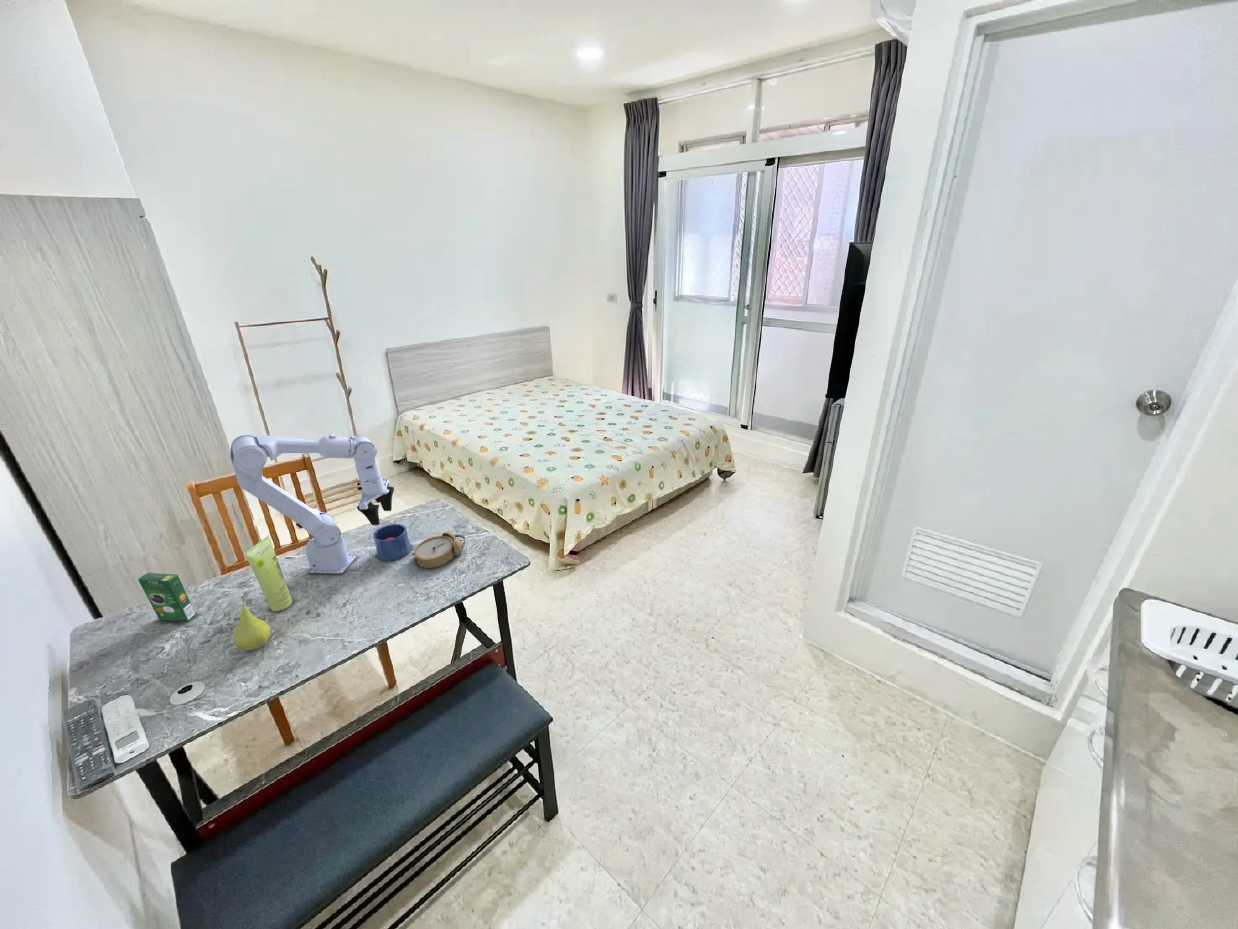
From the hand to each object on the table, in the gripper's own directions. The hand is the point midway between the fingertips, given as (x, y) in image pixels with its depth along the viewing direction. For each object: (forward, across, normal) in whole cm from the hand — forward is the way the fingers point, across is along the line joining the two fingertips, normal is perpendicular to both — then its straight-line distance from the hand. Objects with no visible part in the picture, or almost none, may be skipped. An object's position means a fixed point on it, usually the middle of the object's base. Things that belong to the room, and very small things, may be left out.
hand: (381, 517), depth 145 cm
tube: (+10, -27, +16) cm, 33 cm away
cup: (+10, -3, -3) cm, 11 cm away
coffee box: (+10, -32, +39) cm, 51 cm away
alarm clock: (+11, -4, -18) cm, 21 cm away
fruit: (+10, -40, +13) cm, 43 cm away
